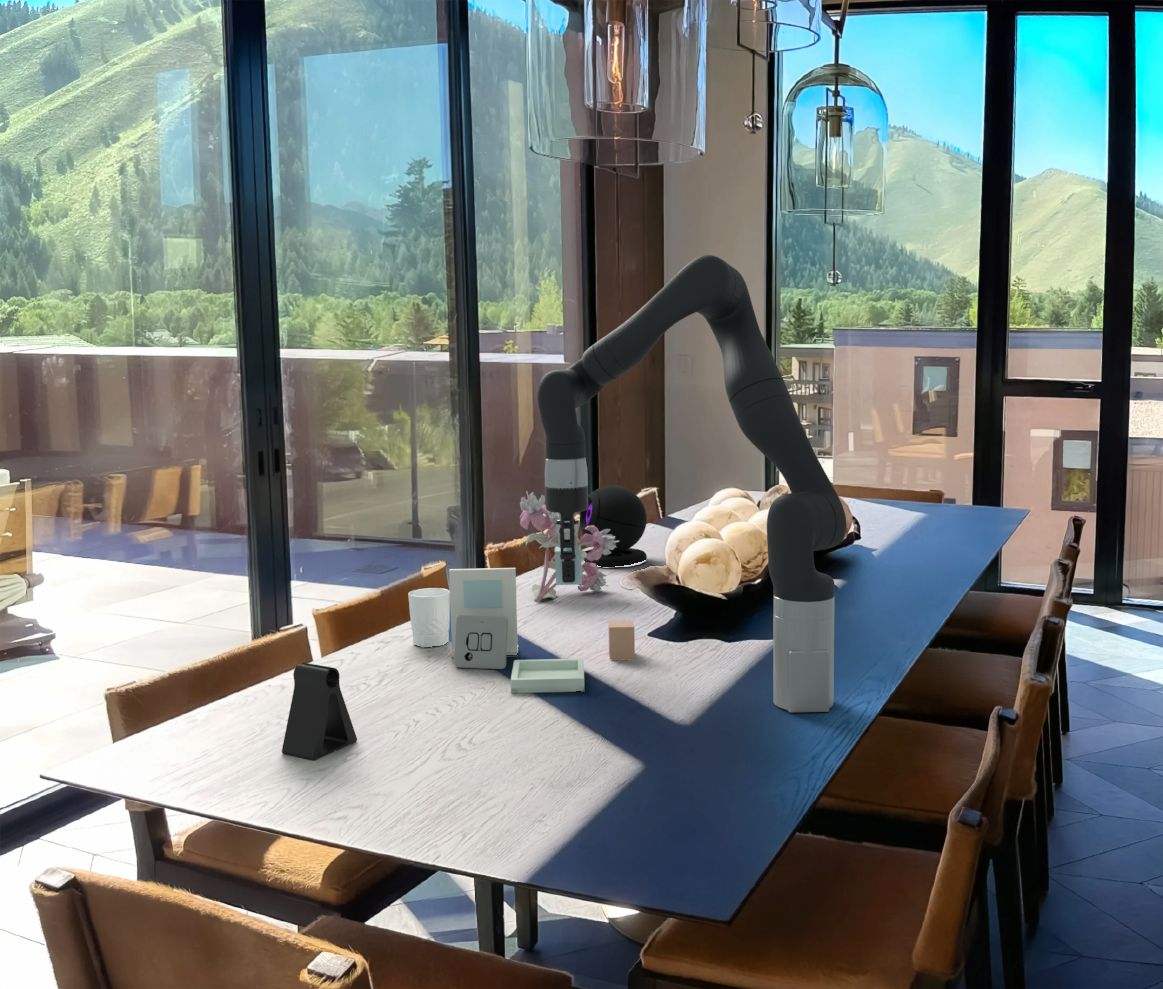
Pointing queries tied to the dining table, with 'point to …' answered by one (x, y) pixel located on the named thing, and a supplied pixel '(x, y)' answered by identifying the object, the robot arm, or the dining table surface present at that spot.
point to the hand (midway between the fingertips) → (569, 578)
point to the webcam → (616, 523)
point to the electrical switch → (481, 641)
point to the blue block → (577, 566)
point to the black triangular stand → (317, 714)
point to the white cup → (430, 616)
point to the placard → (485, 598)
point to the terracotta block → (621, 640)
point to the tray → (547, 675)
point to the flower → (550, 539)
